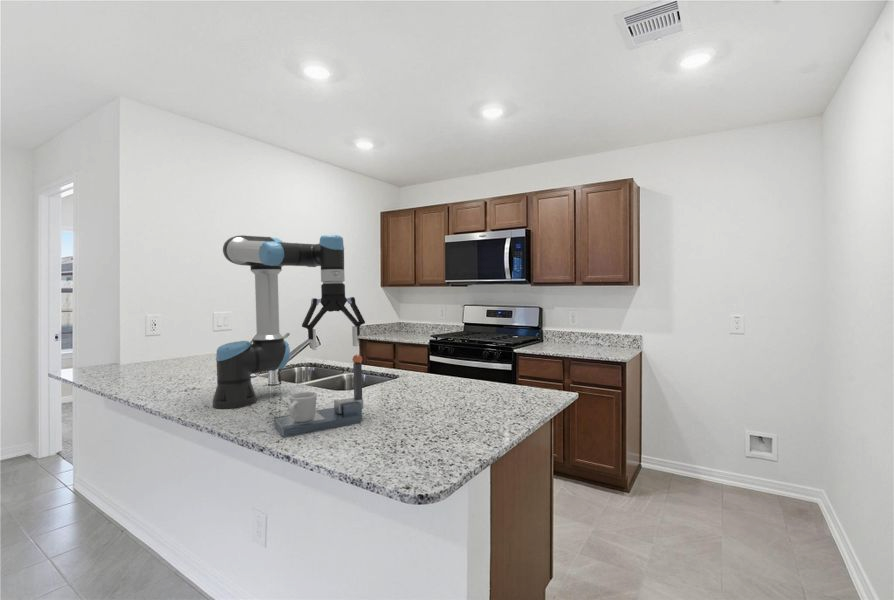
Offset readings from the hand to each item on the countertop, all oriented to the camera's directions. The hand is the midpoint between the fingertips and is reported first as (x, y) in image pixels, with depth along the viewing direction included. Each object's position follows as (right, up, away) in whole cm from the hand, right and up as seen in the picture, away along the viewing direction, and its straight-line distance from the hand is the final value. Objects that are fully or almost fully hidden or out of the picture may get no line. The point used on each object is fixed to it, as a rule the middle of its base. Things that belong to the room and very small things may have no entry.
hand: (335, 347), depth 145 cm
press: (-4, -25, -1) cm, 25 cm away
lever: (+4, -21, +4) cm, 22 cm away
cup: (-8, -22, -8) cm, 25 cm away
